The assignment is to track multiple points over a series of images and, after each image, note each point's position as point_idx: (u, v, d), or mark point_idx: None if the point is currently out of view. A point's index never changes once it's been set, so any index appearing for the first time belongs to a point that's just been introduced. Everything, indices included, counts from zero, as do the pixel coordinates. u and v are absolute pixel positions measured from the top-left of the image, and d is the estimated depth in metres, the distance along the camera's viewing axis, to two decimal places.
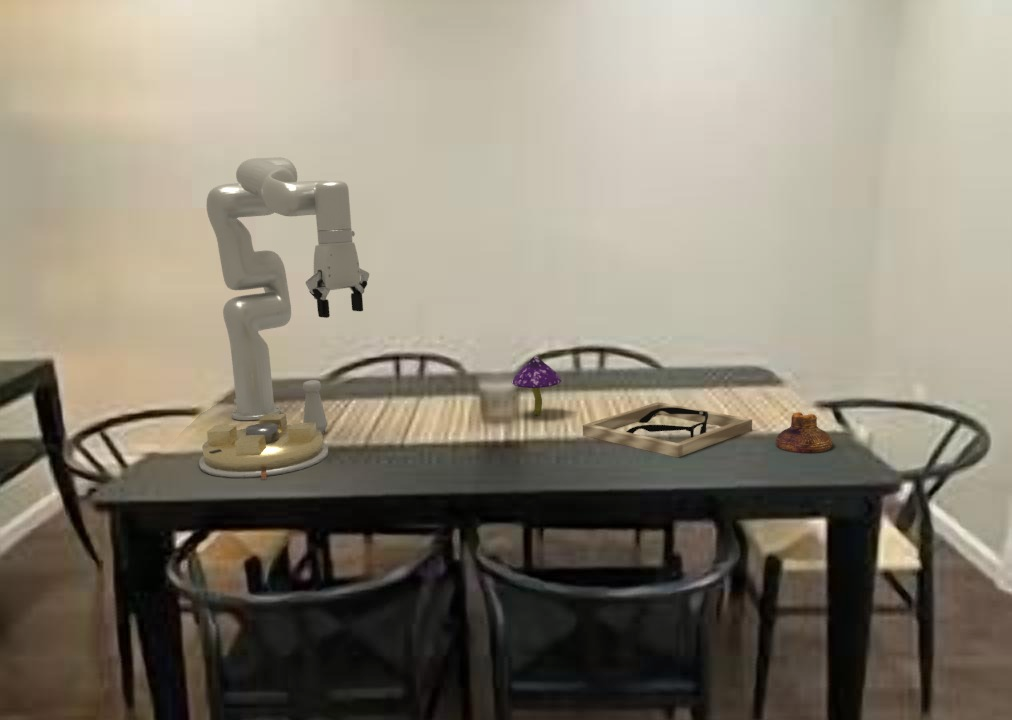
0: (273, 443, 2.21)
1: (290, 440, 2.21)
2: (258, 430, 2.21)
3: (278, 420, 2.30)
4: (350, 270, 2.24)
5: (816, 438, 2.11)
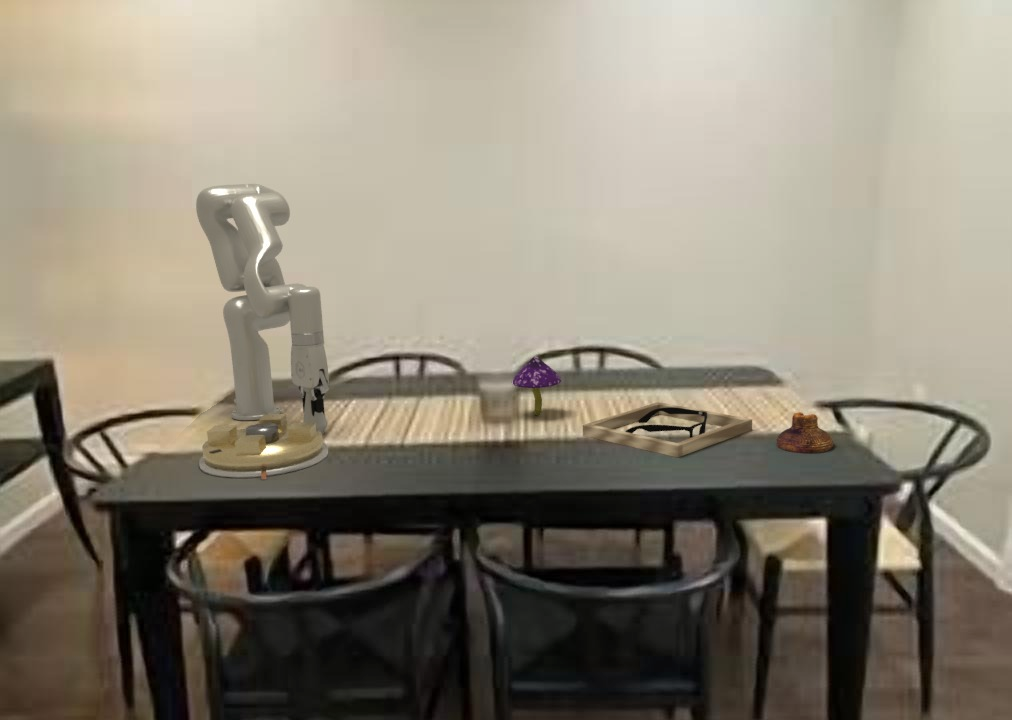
0: (273, 443, 2.21)
1: (290, 440, 2.21)
2: (258, 430, 2.21)
3: (278, 420, 2.30)
4: None
5: (817, 439, 2.11)
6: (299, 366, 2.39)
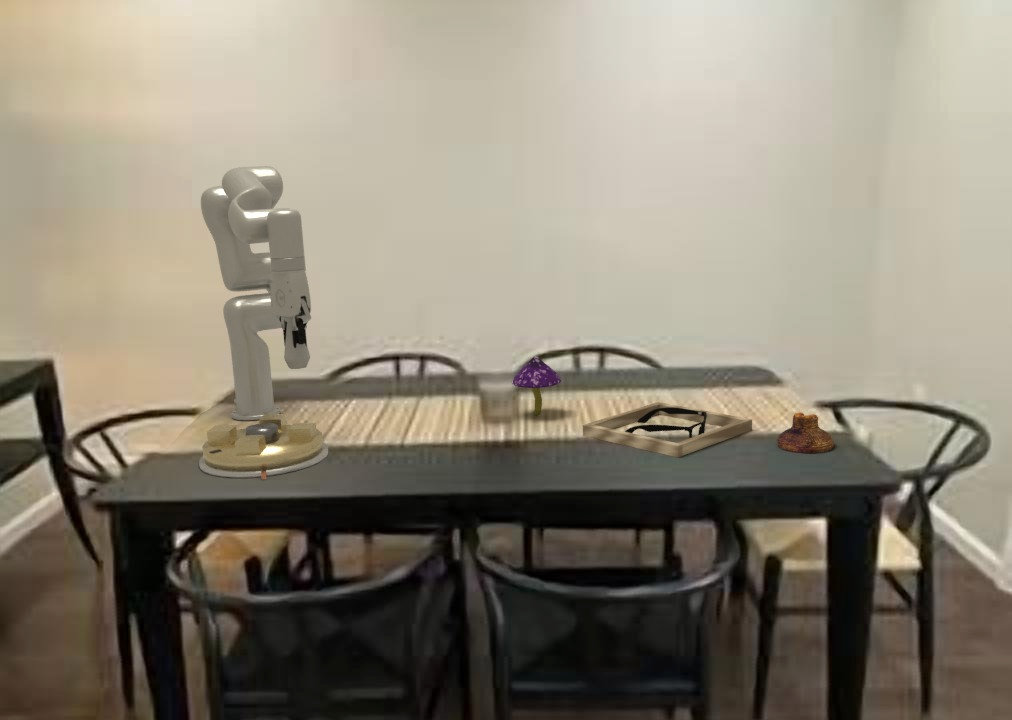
0: (273, 443, 2.21)
1: (290, 440, 2.21)
2: (258, 430, 2.21)
3: (278, 420, 2.30)
4: None
5: (818, 439, 2.10)
6: (279, 294, 2.24)
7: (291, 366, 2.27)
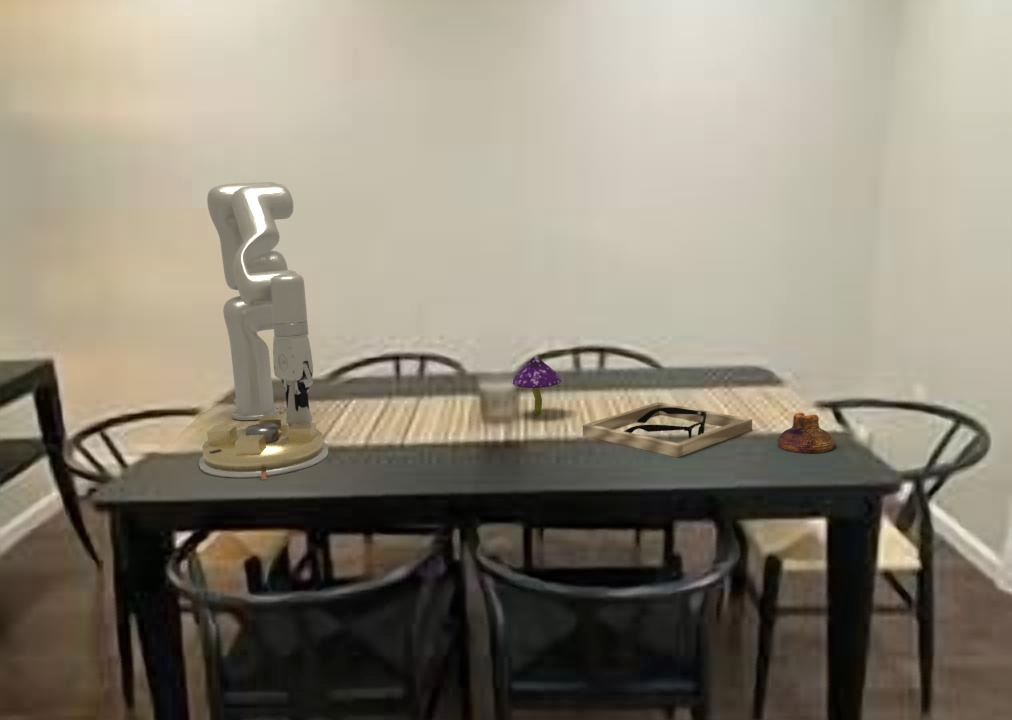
0: (273, 443, 2.21)
1: (290, 440, 2.21)
2: (258, 430, 2.21)
3: (278, 420, 2.30)
4: None
5: (818, 439, 2.10)
6: (282, 358, 2.25)
7: None
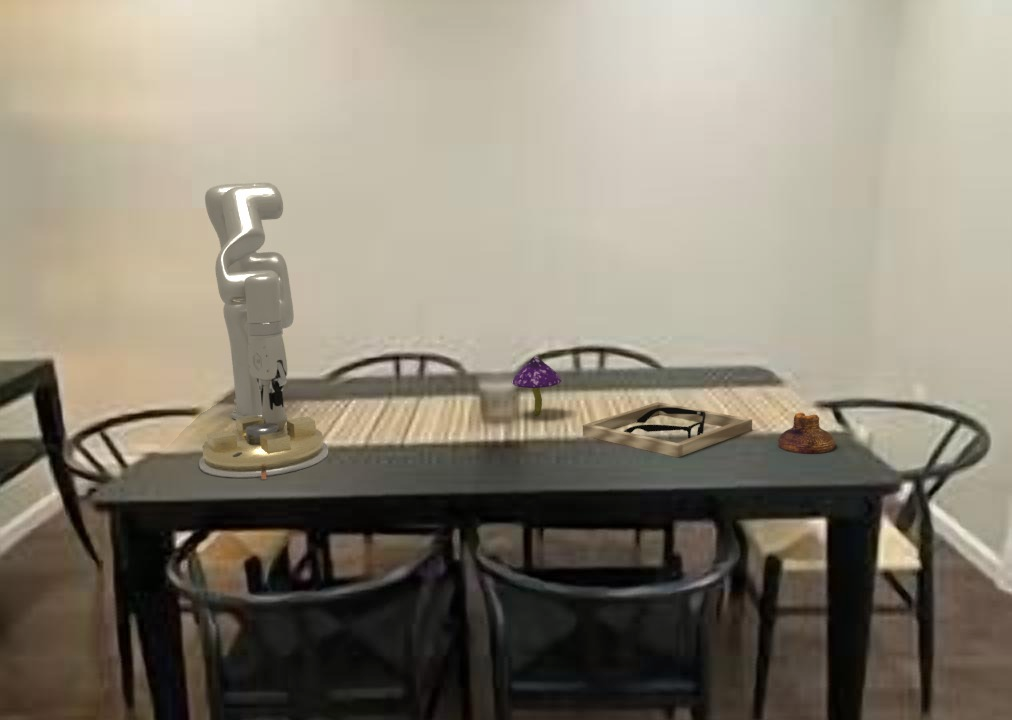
0: None
1: (296, 435, 2.25)
2: (265, 429, 2.21)
3: (261, 421, 2.30)
4: None
5: (819, 439, 2.10)
6: (256, 357, 2.28)
7: None
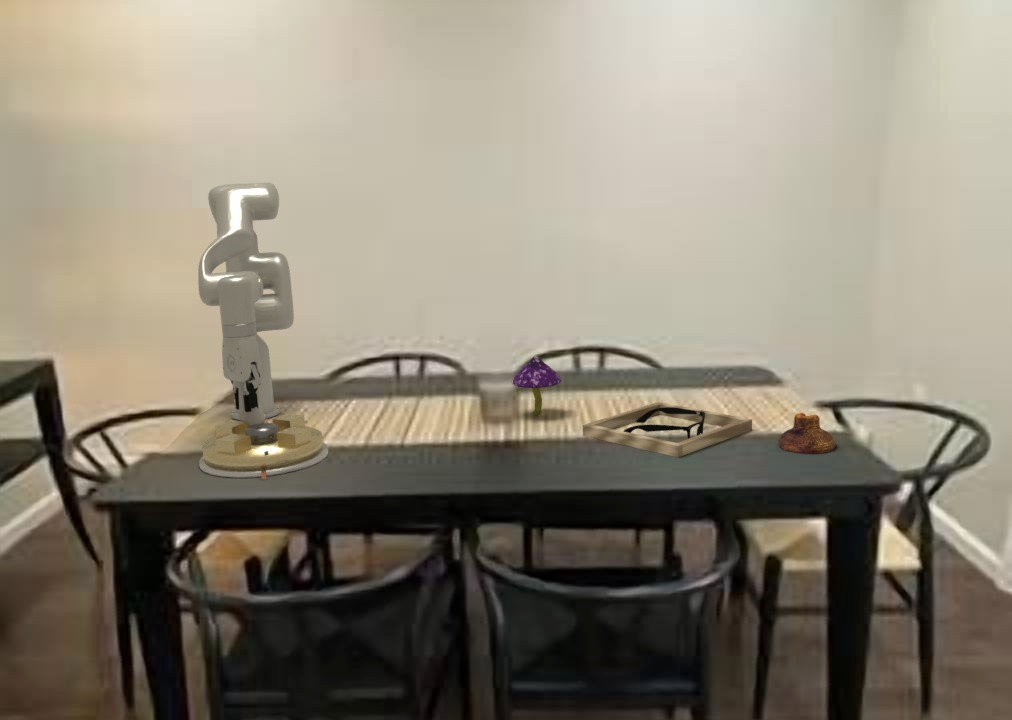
0: None
1: None
2: (271, 428, 2.22)
3: (246, 423, 2.28)
4: None
5: (819, 439, 2.10)
6: (230, 359, 2.27)
7: None
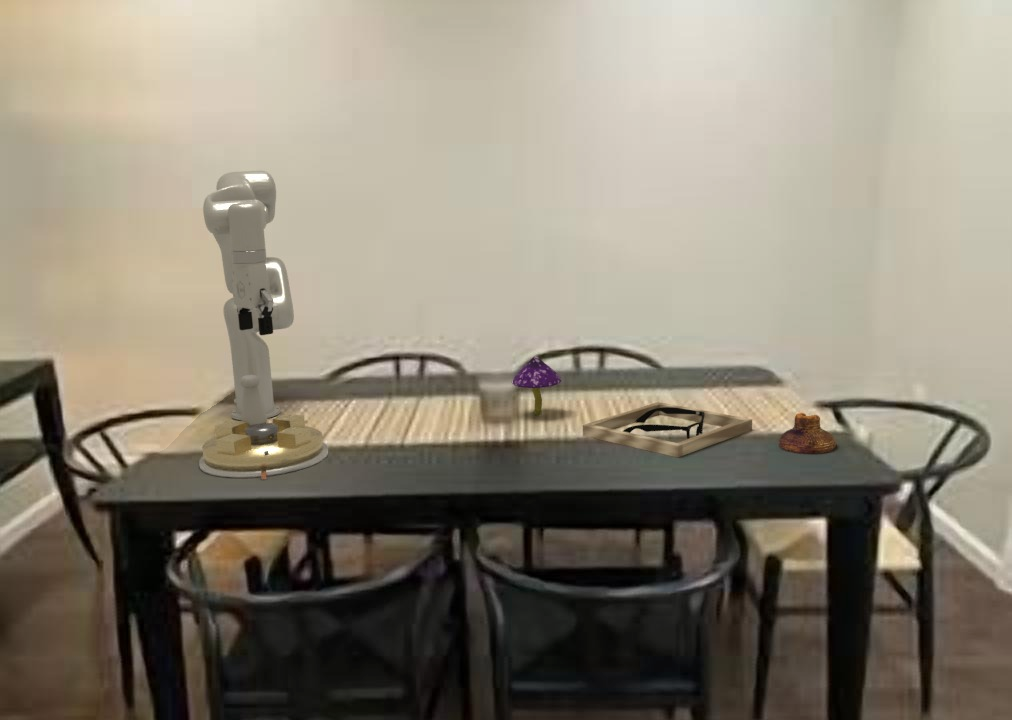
0: None
1: None
2: (271, 428, 2.22)
3: (246, 423, 2.28)
4: None
5: (820, 439, 2.10)
6: (240, 286, 2.28)
7: None
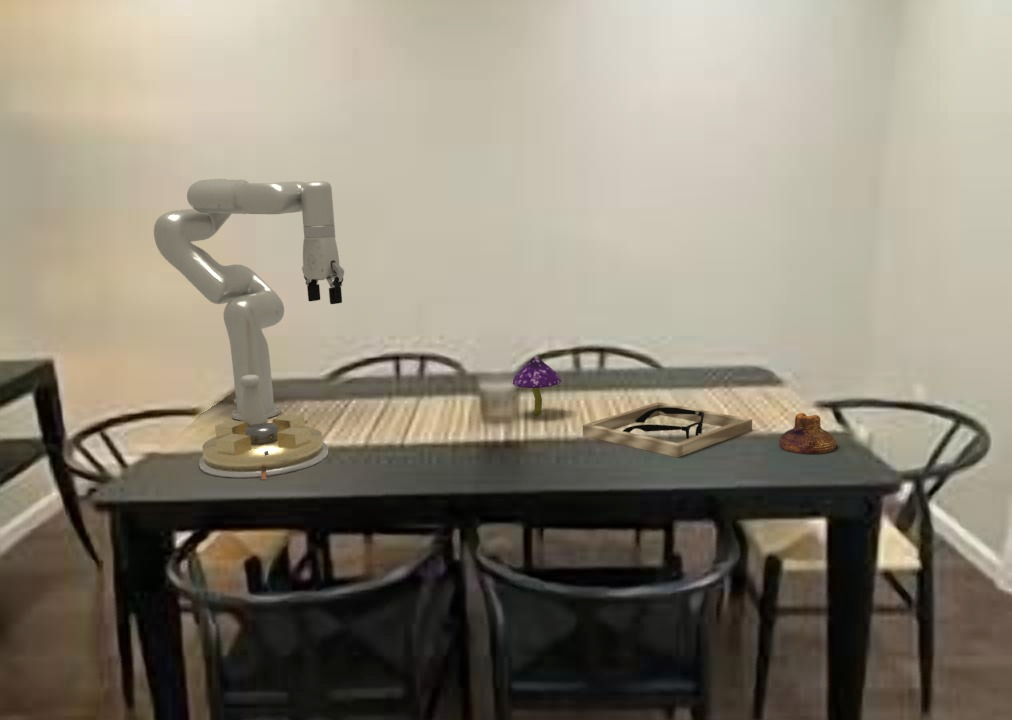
0: None
1: None
2: (271, 428, 2.22)
3: (246, 423, 2.28)
4: None
5: (820, 439, 2.10)
6: (311, 259, 2.46)
7: None
